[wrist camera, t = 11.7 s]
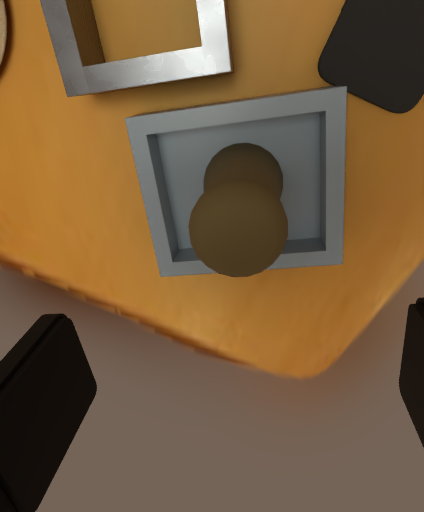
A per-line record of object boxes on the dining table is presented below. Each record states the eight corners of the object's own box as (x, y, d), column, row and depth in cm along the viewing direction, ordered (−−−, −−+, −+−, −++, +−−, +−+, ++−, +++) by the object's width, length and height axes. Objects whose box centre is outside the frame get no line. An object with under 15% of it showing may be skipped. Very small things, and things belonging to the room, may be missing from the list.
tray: (334, 85, 24) (346, 86, 21) (333, 244, 30) (342, 264, 26) (139, 113, 27) (124, 118, 23) (169, 257, 32) (160, 276, 29)
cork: (262, 232, 29) (266, 311, 19) (192, 203, 28) (159, 269, 18) (297, 162, 26) (324, 211, 16) (221, 129, 25) (199, 158, 16)
